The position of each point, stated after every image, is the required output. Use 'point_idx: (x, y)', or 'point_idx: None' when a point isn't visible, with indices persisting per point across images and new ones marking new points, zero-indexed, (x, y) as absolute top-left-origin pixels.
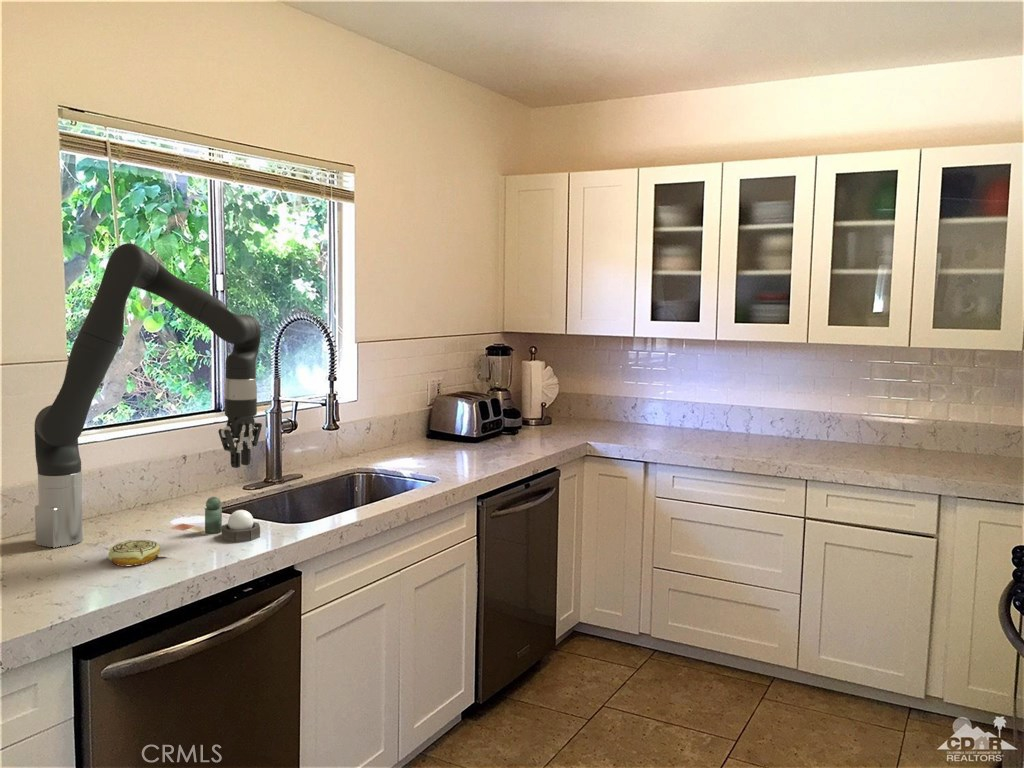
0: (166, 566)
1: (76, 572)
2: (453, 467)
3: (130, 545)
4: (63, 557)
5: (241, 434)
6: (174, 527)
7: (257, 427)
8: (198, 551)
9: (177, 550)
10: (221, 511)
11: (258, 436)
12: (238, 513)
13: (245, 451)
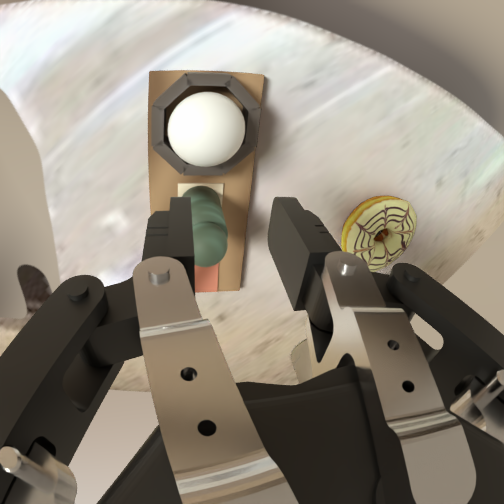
0: (397, 157)
1: (424, 251)
2: None
3: (378, 250)
4: None
5: (420, 386)
6: (210, 287)
7: (7, 471)
8: (307, 157)
9: (313, 198)
10: (194, 213)
11: (13, 353)
12: (229, 131)
13: (194, 276)
